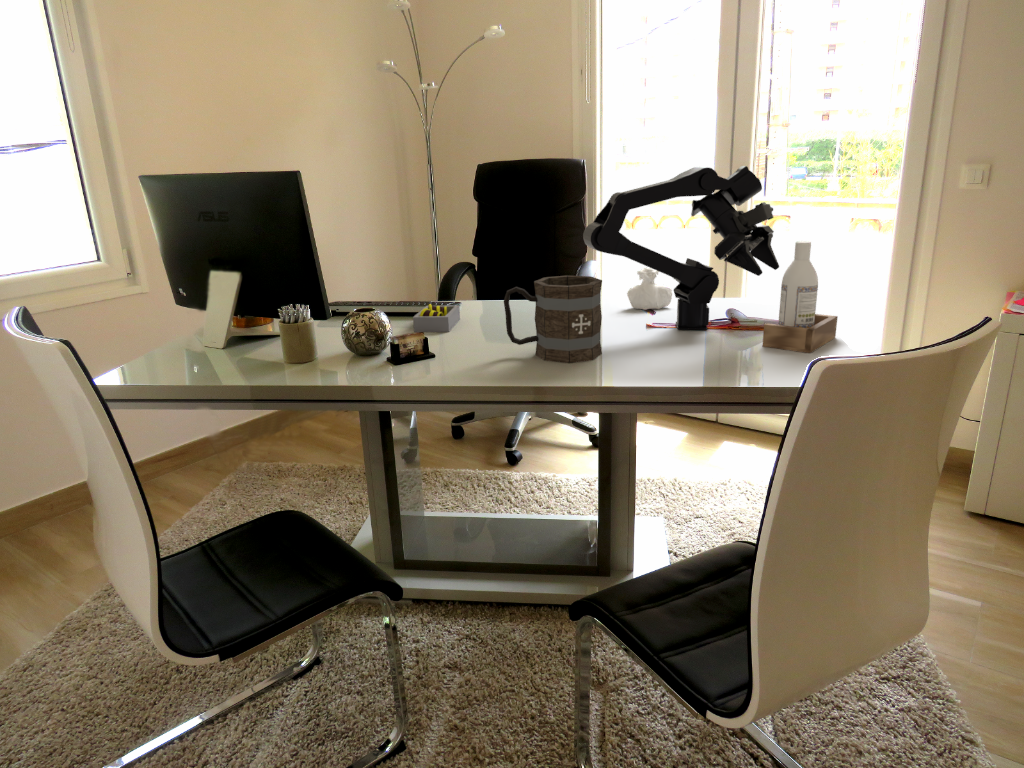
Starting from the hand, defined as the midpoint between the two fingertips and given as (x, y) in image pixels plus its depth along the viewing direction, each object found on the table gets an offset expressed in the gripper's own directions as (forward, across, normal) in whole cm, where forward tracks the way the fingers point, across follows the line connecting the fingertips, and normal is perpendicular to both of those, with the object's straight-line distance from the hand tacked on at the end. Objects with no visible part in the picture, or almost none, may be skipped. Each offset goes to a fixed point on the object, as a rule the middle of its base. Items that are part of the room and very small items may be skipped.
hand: (769, 271), depth 156 cm
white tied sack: (-15, +11, +35) cm, 40 cm away
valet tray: (-38, -35, +57) cm, 77 cm away
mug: (-10, -40, +30) cm, 51 cm away
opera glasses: (-38, -35, +58) cm, 77 cm away
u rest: (+15, -3, +4) cm, 16 cm away
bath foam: (+15, -4, +4) cm, 16 cm away
